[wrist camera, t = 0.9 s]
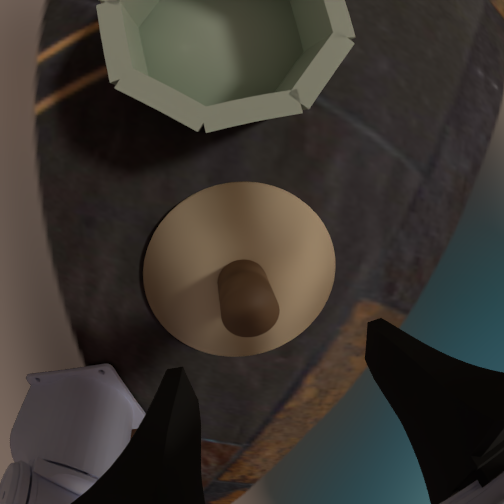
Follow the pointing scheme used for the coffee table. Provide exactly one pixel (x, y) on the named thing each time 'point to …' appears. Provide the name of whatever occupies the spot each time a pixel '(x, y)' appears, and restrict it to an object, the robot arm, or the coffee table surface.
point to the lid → (239, 269)
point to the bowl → (224, 55)
